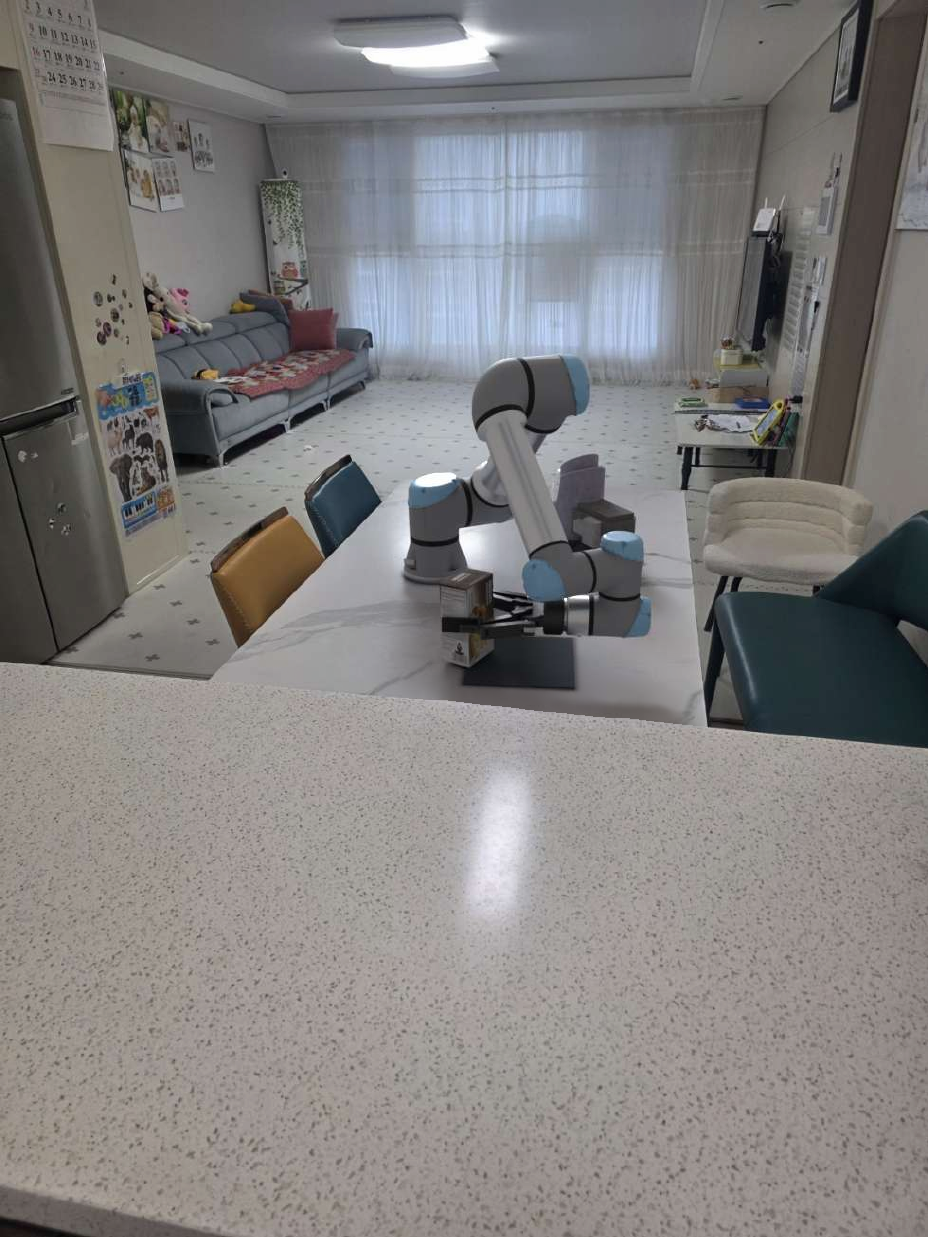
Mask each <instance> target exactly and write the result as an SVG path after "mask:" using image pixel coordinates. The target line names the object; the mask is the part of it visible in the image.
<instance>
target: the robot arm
mask: <svg viewBox="0 0 928 1237" xmlns="http://www.w3.org/2000/svg"><path fill="white" fill-rule="evenodd" d="M590 395H591V388H590V379H589V374H588V370H587V368H586V365H585V364H584V362H583V361H582V359H581V358H580V357H578V356H577V355H575V354H572V353H563V354H562V353H555V354H545V355H535V356H534V355H533V356H523V357H508V358H503V359H500V360H498V361H496V362H494V363H492V364H491V365H489V367H487V368H486V369H485V371H484V372H483V373H482V374H481V376H480V377H479V378H478V381H477V382H476V385H475V387H474V391H473V393H472V398H471V419H472V423H473V427H474V430H475V432H476V435H477V438H478V439H479V440H480V441H481V442H484V443H485V444H486V447H487V450H488V452H489V457H488V459H487V460H486V461H485V462H482V463H481V464H479V465H478V466H476V468H475V470H474V471H473V473H472V475H471V476H467V477H466V476H465V477H460V478H458V475H456V474H455V473H452V472H446V471H445V472H434V473H428V474H425V475H422V476H419V477H417V478H415V479H414V480H413V481H412V482H411V483H410V484H409V486H408V500H407V506H408V520H409V536H410V542H409V547H408V551H407V554H406V557H405V558H403V564H404V566H403V572H404V576H405V577H406V578H407V579H409V580H410V581H413V582H416V583H421V584H426V585H436V584H437V585H439V583H440V582H442V581H444V580H446V579H447V578H449V577H451V576H452V575H454V574H456V573H457V572H459V571H461V570H462V569H464V568H468V561H467V559H466V555H465V554H464V550H463V548H462V545H461V542H460V529H464V528H471V527H477V526H484V525H490V524H502V523H505V522H507V521H512V520H513V519H514V522H515V524H516V528H517V530H518V533H519V535H520V538H521V540H522V543H523V546H524V549H525V552H526V554H527V556H528V561H526V563H524V565H523V567H522V570H521V580H522V586H523V589H524V592H525V593H523V592H517V591H510V590H504V589H497V588H493V605H494V609H495V610H498V611H502V612H505V613H507V614H504V615H499V616H494V617H493V618H489V619H484V620H482V619H481V618H480V617H478V618H464V617H442V632H456V633H478V635H480V639H481V640H488V639H498V638H507V637H516V636H529V637H536V636H535V635H536V629H537V628H541V629H542V633H543V635H546V636H562V635H563V633H565V634H566V635H567V636H577V637H578V638H581V637H584V636H585V637H587V636H588V637H608V638H609V637H610V638H611V637H612V638H622V639H626V638H627V639H628V638H642V637H646V636H647V635H648V634H649V633H650V629H651V625H652V624H651V623H652V603H651V600H650V598H649V597H648V596H643V595H641V594H642V593H641V585H642V584H641V582H642V575H643V567H644V566H643V564H644V562H645V559H644V558H645V557H644V554H645V552H644V551H645V550H644V540H643V539H642V537H641V536H640V535H638V534H636V533H635V534H634V533H631V532H626V531H613V532H609V533H607V534H605V535H603V536H602V538H601V543H600V548H598V549H592V550H586V551H581V552H576V553H573V552H572V550H571V547H570V545H569V543H568V540H567V537H566V535H565V532H564V530H563V527H562V524H561V522H560V519H559V517H558V514H557V511H556V509H555V506H554V504H553V501H552V498H551V496H550V494H551V492H550V490H549V488H548V485H547V483H546V481H545V478H544V474H543V473H542V470H541V467H540V464H539V461H538V459H537V456H536V454H537V452H538V451H539V449H540V448H541V446H542V444H543V442H544V441H545V440H546V438H547V436H548V435H551V434H554V433H556V432H557V431H559V429H560V428H561V427H562V426H563V425H564V422H565V421H566V419H567V418H568V417H570V416H573V417H577V416H579V415H582V414H583V413H585V412H586V410H587V408H588V406H589V403H590V398H591V396H590ZM593 593H597V594H598V595H597V594H596V595H595V594H594V595H593ZM582 594H587V595H582ZM442 632H441V633H442Z"/></svg>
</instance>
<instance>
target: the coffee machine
mask: <svg viewBox="0 0 928 1237" xmlns="http://www.w3.org/2000/svg"><path fill="white" fill-rule="evenodd" d="M599 457H600V456H599V454H598V453H587V454H582V455H580V456H576V457H574V458H571V459H569V460H566V461H565V462H563V463H562V464H561V465H560V468H559V469H560V485H559V491H558V497H557V499H556V500H554V501H553V504H554V506H555V509H556V511H557V514H558V517H559V519H560V522H561V524H562V527H563V530H564V532H565V535H566V537H567V540H568V543H569V545H570V547H571V550H572V552H573V553H576V552H581V551H586V550H592V549H598V548H600V543H601V538H602V536H603V535H605V534H607V533H609V532H613V531H626V532H631V533H634V534H636V522H637V516H635V512H634V511H631V510H629V509H627V508H624V507H622V506H620V505H618V504H616V503H613V502H612V501H609V500H607V499H605V484H606V467H605V466H603V465H599V460H600V459H599Z"/></svg>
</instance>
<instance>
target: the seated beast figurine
mask: <svg viewBox="0 0 928 1237" xmlns="http://www.w3.org/2000/svg"><path fill="white" fill-rule="evenodd" d="M551 482H552V486H551V488H550V496H551V498H552V501H554V500H556V499H557V497H558V491H559V485H560V468H558V469H557V471H556V473H555V474H554V475H553V478H552V481H551Z"/></svg>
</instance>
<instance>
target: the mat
mask: <svg viewBox="0 0 928 1237" xmlns="http://www.w3.org/2000/svg"><path fill="white" fill-rule="evenodd" d="M573 653H574V652H573V637H562V636H560V637H559V636H516V637H507V638H498V639H494V649H493V650H492V651H491V652H489V653H488V654H487V655H485V656H484V657H483V658H481V659H480V660H479V661H478V662H476V663H475V664H474V665H472V666H471V667H465V670H464V676H463V681H462V686H479V687H480V686H484V687H511V688H513V687H515V688H519V687H520V688H541V689H568V690H570V689H572V690H574V689H575V678H574V676H575V675H574V654H573Z"/></svg>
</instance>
